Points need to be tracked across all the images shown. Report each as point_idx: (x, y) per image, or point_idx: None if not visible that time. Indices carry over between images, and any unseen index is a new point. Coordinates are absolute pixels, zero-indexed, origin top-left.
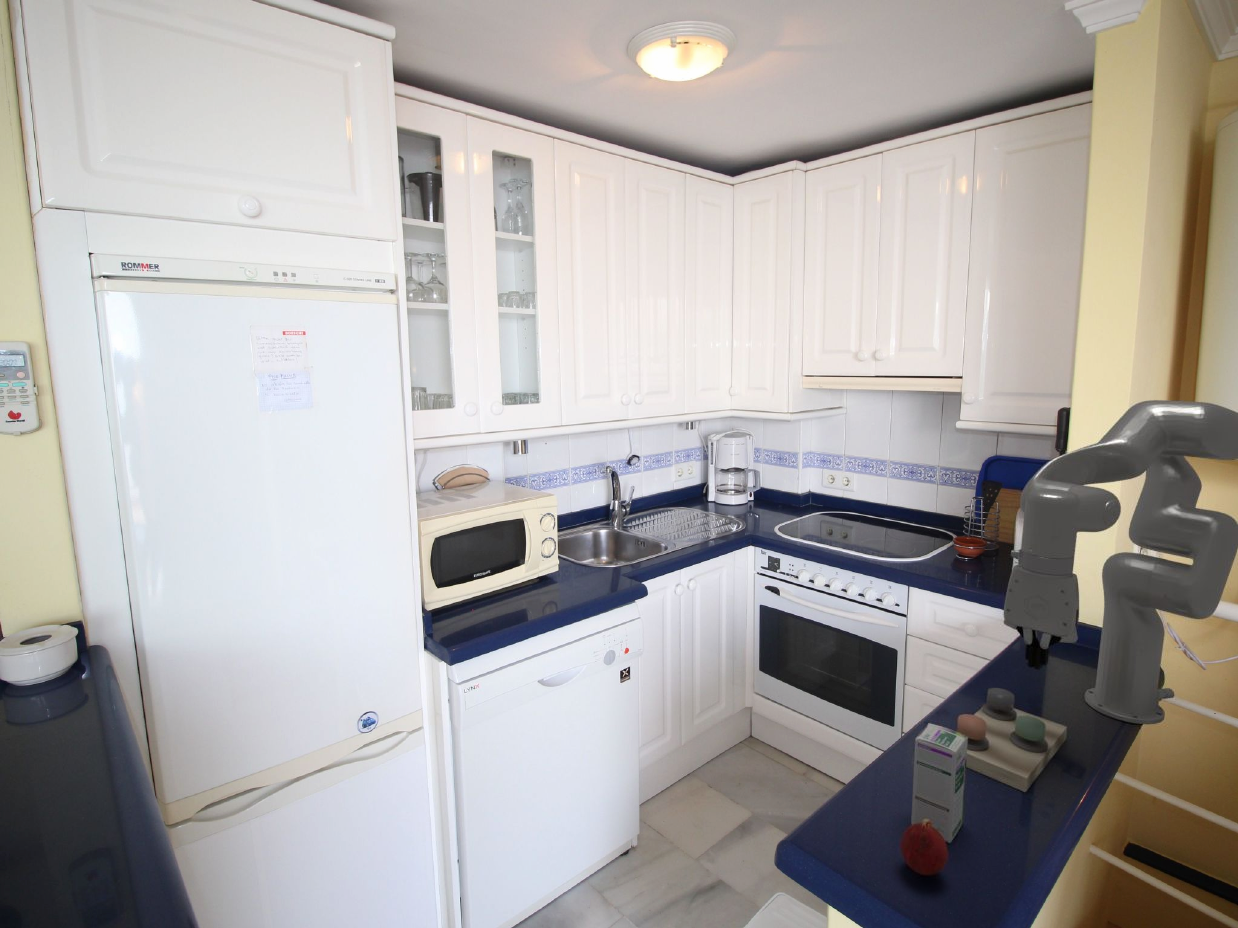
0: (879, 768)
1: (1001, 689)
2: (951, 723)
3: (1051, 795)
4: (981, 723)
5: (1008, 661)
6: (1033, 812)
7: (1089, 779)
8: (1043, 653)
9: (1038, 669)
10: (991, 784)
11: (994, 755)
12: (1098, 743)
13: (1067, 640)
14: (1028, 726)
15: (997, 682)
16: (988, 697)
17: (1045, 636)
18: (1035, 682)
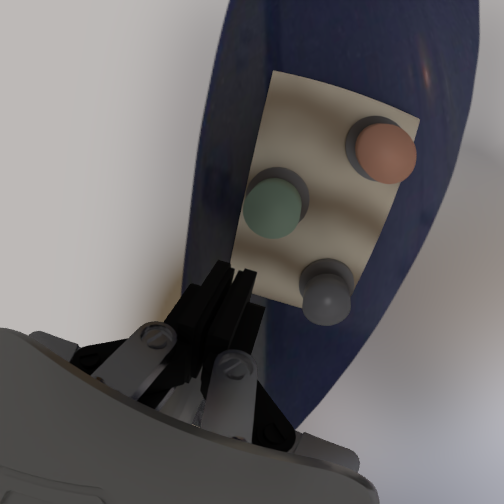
0: (476, 52)
1: (324, 322)
2: (398, 240)
3: (240, 90)
4: (369, 152)
5: (302, 414)
6: (262, 31)
7: (195, 172)
8: (181, 314)
9: (218, 260)
10: (328, 69)
11: (332, 118)
12: (195, 280)
13: (53, 344)
14: (274, 190)
15: (319, 377)
16: (348, 293)
17: (126, 375)
18: (274, 388)
